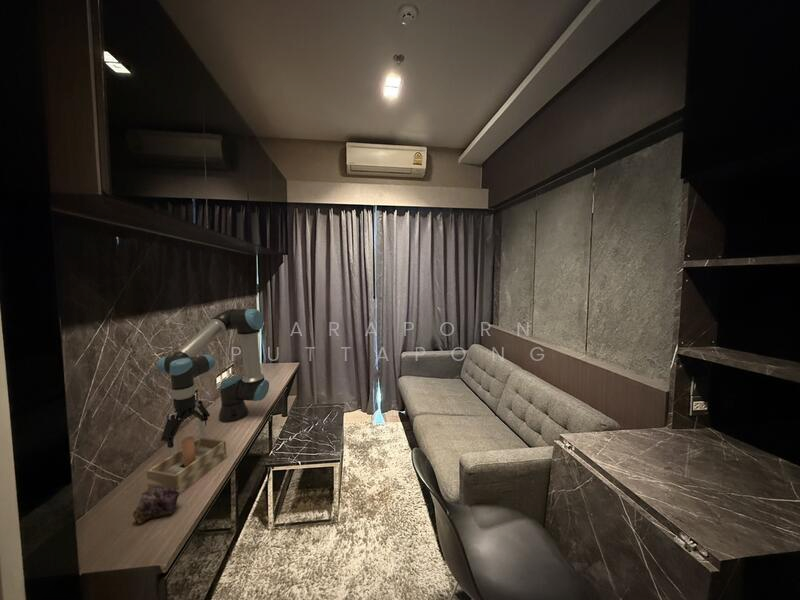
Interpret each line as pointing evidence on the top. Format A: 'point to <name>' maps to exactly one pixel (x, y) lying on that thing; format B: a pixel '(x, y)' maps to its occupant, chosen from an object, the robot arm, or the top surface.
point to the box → (182, 478)
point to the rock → (156, 503)
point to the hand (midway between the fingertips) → (189, 443)
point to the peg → (188, 451)
